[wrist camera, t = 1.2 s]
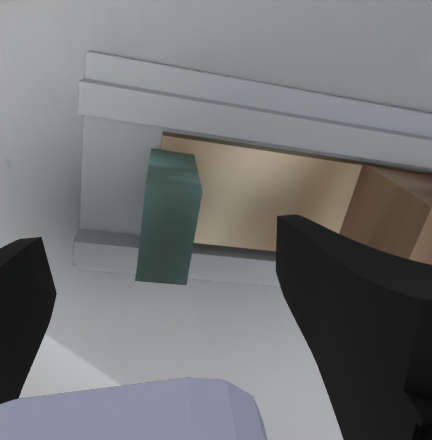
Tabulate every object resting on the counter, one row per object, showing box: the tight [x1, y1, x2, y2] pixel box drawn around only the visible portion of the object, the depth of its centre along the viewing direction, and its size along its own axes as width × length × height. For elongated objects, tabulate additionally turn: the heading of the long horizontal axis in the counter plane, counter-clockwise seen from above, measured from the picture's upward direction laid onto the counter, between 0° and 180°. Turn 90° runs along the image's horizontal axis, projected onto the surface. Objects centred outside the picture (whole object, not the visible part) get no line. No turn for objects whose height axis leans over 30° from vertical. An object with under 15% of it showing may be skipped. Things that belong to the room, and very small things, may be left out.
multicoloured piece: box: [135, 131, 432, 285], centre depth 16 cm, size 15×5×5 cm, turn 80°
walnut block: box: [339, 163, 432, 265], centre depth 16 cm, size 5×5×5 cm
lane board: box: [73, 51, 432, 287], centre depth 19 cm, size 20×10×2 cm, turn 80°
